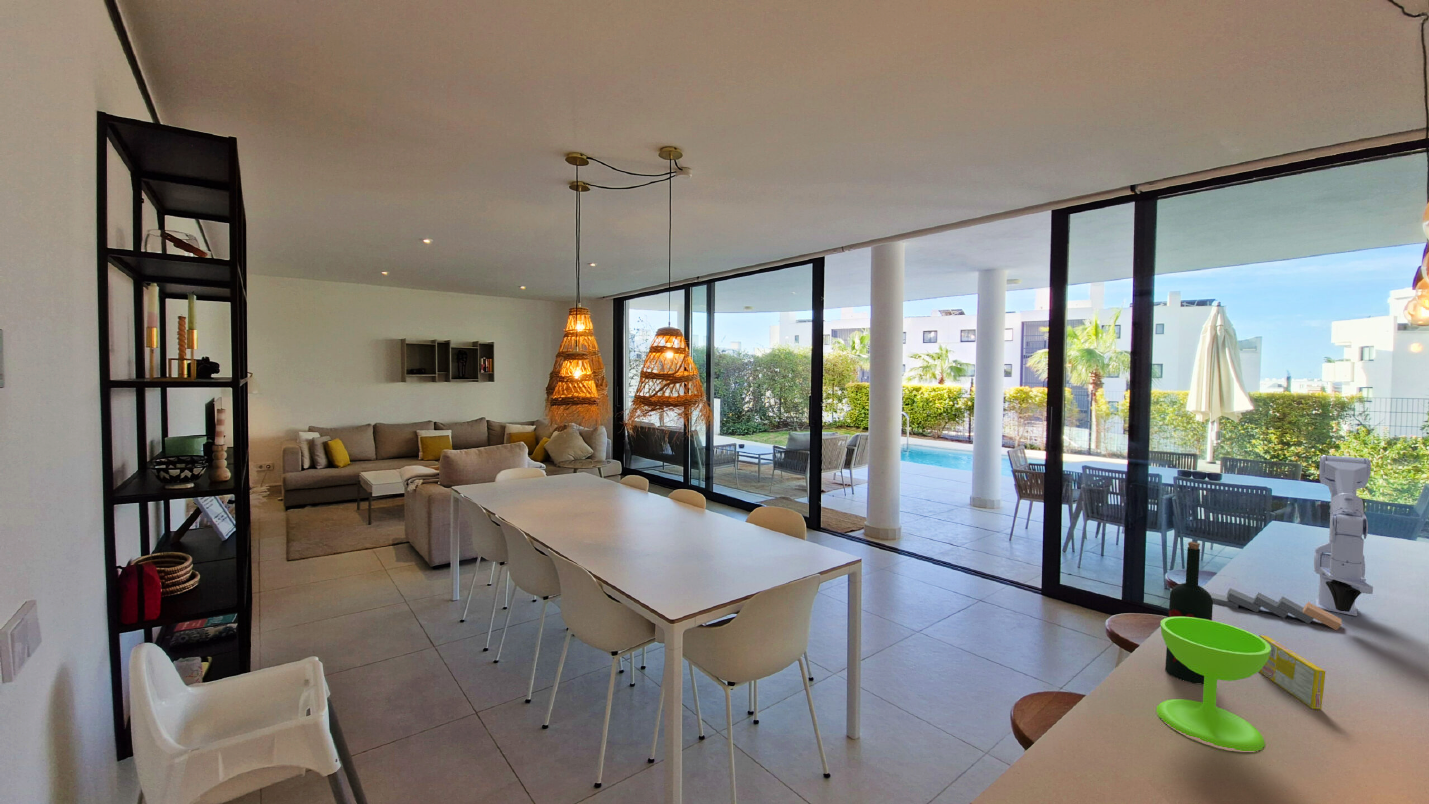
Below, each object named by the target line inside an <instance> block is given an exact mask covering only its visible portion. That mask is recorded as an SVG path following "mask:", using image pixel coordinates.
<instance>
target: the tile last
mask: <svg viewBox="0 0 1429 804" xmlns="http://www.w3.org/2000/svg"><path fill="white" fill-rule="evenodd" d="M1208 593H1209V594H1210V595H1211V597H1212V599H1213V604H1217V605H1221V606H1225V607H1231V608H1235V609H1239V606H1240V605H1239V604H1237V603H1235V602H1233V601H1230V600H1228V599H1227V595H1223V594H1218V593H1214V592H1210V591H1208Z"/></svg>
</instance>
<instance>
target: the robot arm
mask: <svg viewBox="0 0 1429 804" xmlns="http://www.w3.org/2000/svg"><path fill="white" fill-rule="evenodd" d="M1319 457H1320V458H1319V468H1318V469H1319V481H1320V484H1322V485H1324V486H1327V487H1328V490H1329V493H1330V514H1329V515H1330V516H1329V536H1328V539H1329V541H1328V542H1326V543H1323V544H1321V545H1318V546H1317V547H1316V548H1315V553H1314V556H1313V557H1314V558H1313V571H1314V572H1315V574H1318V575H1319V581H1318V583H1319V585H1318V597H1316V598H1315V606H1317V607H1319V608H1321V609H1323V610H1325V611H1329V612H1335V613H1339V614H1344V615H1348V616H1355V617H1356V616H1357V617H1358V613H1357V606H1356V599H1357V598H1358V597H1359V596H1360V595H1361V594H1366V595H1367V594H1369V595H1373V592H1374V590H1373V589H1374V586H1373V585H1370V584H1368V583H1367V582H1366V581H1367V579H1366V578H1365V575H1366V562H1365V555H1364V543H1365V540H1366V539H1367V537H1368V533H1369V532H1368V531H1369V522H1368V519H1367V516H1366V514H1365V513H1364V512H1365V511H1364V502H1363V499H1362V498H1361V497H1360V496H1359V495H1357V490H1358V489H1364V488H1366V486H1367V485H1368V482H1369V479H1370V478H1371V473H1372V472H1371V470H1372V466H1371V465H1372V462H1371V459H1370V458H1368V457H1352V456H1351V457H1350V456H1338V455H1326V454H1323V455H1321V456H1319Z"/></svg>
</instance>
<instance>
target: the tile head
mask: <svg viewBox="0 0 1429 804" xmlns="http://www.w3.org/2000/svg"><path fill="white" fill-rule="evenodd" d="M1303 613H1305V614H1306V615H1308V616H1310V617H1312V618H1314V619H1315V620H1316V621H1318V622H1319V623H1322V624H1324V625H1325V626H1327V627H1330V628H1331V629H1333V630H1335V631H1338V629H1340V627H1341V626H1342V618H1340V617H1338V616H1336V615H1334V614H1333V613H1330V612H1328V610H1324V609H1321V608H1319V607H1317V606H1316V604H1313V603H1311V602H1309V601H1307V603H1306V604H1305V605H1304V606H1303ZM1314 619H1313V620H1314Z"/></svg>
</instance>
